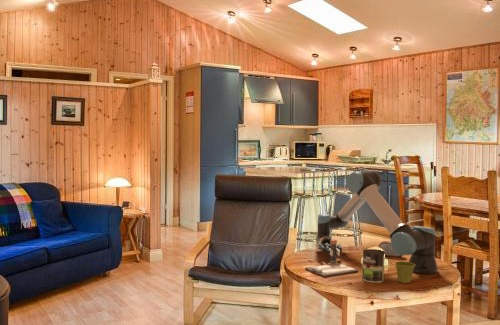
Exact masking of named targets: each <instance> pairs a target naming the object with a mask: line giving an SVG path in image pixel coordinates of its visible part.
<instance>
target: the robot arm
mask: <svg viewBox="0 0 500 325" xmlns="http://www.w3.org/2000/svg"><path fill="white" fill-rule="evenodd" d="M381 186H382V177H381V175H380V174H379V173H378V172H377V171H374V170H363V171H362V170H361V171H360V170H356V171H353V172H351V173H350V174H349V175H348V177H347V179H346V187H347V189H348V191H349V192H350V193H352V194H353V195H352V197H350V199H349V200H348V201H347V202H346V203H345V204H344V206H343V207H342V208H341V209H340V211H338V212H337V214H335V215H333V216H331V215H330V214H328V213H320V214H318V215H317V232H316V233H317V235H316V239H315V241H316V242H317V249H318V250H320V251H321V252H322V253H326V254H327V255H331V256H333V251H332V249H331V244H330V240H333V239H332V238H331V230H334V229H335V230H336V229H342V228H345V227H347V226H348V224H349V220H350V219H351V218H352V217H353V215H354V214H355V213H356V212H357V211H359V209H360V208H361V207H362V206H363V205H364V204H365V203H366V204H367V205H368V206H369V207H370V209H371V210H372V211H373V213H374V214H375V215H376V217H377V218H378V220H380V222H381V223H382V225H383V227H385V229H386V230H387V231H388V233H389V235H388V236H389V238H390V242H391V246H392V248H393V250H394V251H395V252H396V253H398V254H400V255H402V256H409V255H410V258H409V261H408V262H411V263H414V264H415V266H414V269H413V273H417V274H423V275H432V274H434V275H435V274H437V273H439V267H438V265H437V264H438V263H437V261H436V260H437V259H436V237H437V235H436V234H437V233H436V230H435V229H434V228H433V227H428V226H421V225H413V226H412V227H411V226H410V225H409V224H408V223H404V221H402V220H401V218H400V217H399V215H398V214H397V213H396V212H395V211H394V209H393V208H392V207H391V206H390V204H389V203H388V202H387V200H386V199H385V198H384V196H382V194H381V193H380V192H379V191H380V188H381ZM341 253H343V247H342V245H341V243H339V244H336V256H338V257H340V256H341V255H340V254H341Z"/></svg>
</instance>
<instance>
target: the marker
mask: <svg viewBox="0 0 500 325" xmlns="http://www.w3.org/2000/svg"><path fill="white" fill-rule="evenodd" d="M337 243H338V240H337V239H332V240H330V244H331V249H332V251H333V256H331V255H330V254H329V255H330V257H329V258H330V259H329V264H334V263H337V254H336V245H338V244H337Z"/></svg>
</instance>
